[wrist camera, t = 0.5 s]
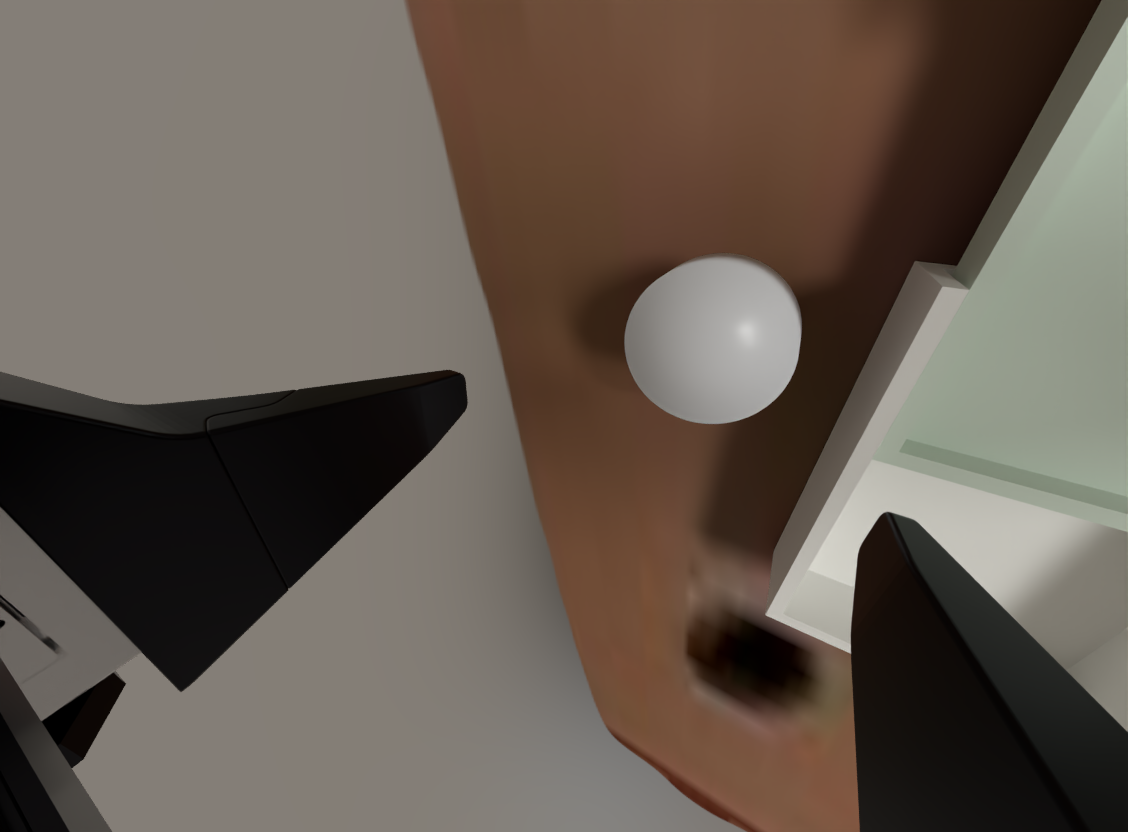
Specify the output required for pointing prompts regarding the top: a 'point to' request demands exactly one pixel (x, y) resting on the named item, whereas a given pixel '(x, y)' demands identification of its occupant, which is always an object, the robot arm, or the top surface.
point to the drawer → (1042, 312)
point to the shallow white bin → (949, 520)
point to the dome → (714, 338)
